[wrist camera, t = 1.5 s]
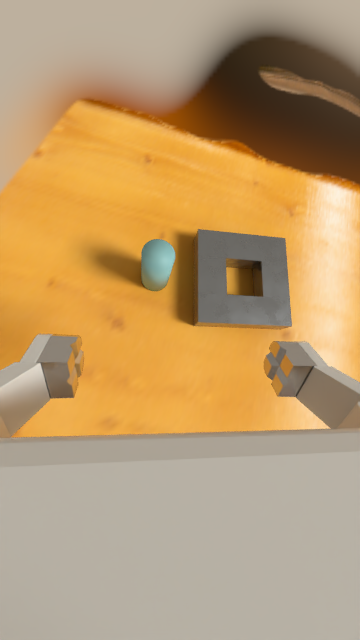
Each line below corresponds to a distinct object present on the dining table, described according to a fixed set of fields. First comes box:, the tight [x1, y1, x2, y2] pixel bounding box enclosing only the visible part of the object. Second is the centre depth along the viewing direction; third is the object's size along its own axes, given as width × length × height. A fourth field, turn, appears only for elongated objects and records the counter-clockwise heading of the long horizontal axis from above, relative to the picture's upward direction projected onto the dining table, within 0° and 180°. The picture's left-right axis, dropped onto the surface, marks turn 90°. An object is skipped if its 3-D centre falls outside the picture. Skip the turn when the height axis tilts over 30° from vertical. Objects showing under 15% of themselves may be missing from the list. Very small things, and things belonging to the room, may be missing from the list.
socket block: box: [194, 229, 292, 329], centre depth 37 cm, size 14×14×3 cm
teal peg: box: [141, 239, 175, 291], centre depth 33 cm, size 4×4×8 cm
